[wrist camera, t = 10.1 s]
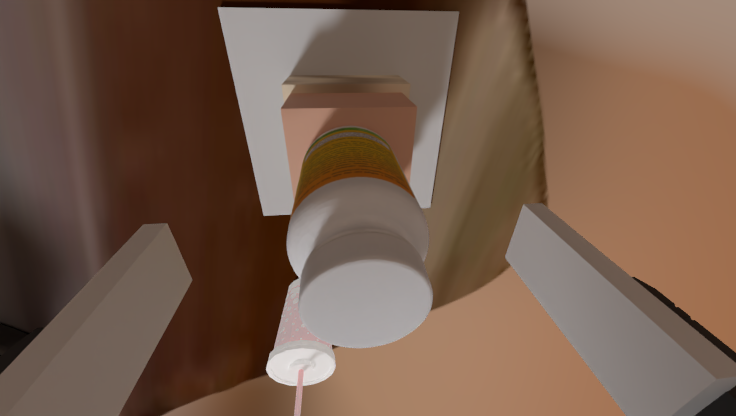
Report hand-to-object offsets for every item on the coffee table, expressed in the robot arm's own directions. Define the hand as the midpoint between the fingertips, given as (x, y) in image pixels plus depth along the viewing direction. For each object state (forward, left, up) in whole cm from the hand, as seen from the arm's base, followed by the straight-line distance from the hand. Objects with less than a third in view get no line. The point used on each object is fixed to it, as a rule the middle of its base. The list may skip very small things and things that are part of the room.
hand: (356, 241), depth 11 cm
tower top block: (0, 0, -10) cm, 10 cm away
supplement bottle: (0, 0, -7) cm, 7 cm away
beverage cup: (-5, -19, -15) cm, 25 cm away
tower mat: (0, 0, -15) cm, 15 cm away
